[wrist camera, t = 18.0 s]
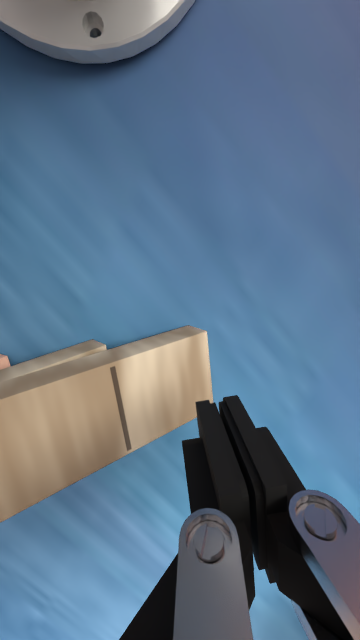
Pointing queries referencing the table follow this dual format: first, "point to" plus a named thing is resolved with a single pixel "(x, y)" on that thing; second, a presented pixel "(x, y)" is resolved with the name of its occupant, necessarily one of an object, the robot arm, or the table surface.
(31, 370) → the tile
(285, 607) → the table surface
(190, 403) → the head tile
